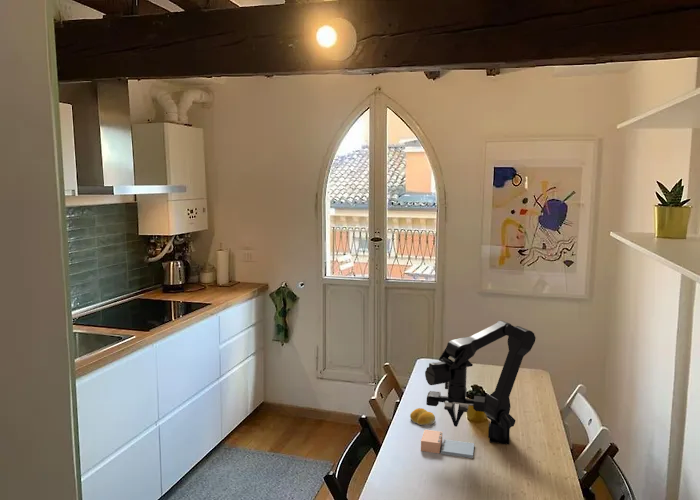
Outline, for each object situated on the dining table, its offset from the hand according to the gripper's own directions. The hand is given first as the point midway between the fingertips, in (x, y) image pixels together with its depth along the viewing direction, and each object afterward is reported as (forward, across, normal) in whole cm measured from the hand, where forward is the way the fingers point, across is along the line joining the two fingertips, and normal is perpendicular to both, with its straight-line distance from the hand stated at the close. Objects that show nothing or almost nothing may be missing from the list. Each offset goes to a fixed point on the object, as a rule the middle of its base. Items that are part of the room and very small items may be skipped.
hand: (455, 426), depth 176 cm
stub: (+8, +8, 0) cm, 11 cm away
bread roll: (+8, +13, -18) cm, 24 cm away
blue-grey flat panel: (+8, -1, 0) cm, 8 cm away
